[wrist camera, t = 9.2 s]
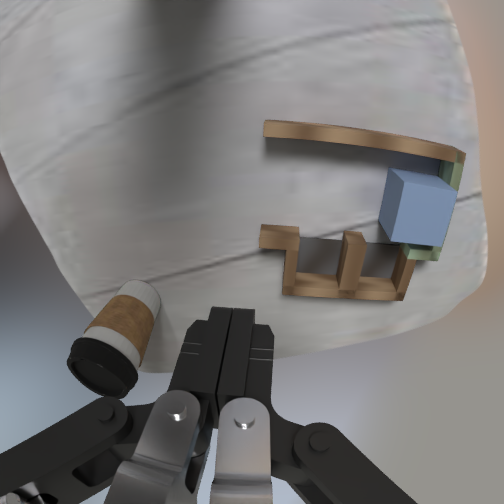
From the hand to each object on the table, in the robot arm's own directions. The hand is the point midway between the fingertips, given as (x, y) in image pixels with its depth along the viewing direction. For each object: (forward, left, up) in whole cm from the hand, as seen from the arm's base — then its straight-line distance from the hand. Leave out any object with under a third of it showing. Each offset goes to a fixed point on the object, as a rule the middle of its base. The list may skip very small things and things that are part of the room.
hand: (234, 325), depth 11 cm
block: (+2, +15, -23) cm, 28 cm away
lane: (+5, +10, -23) cm, 25 cm away
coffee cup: (+19, -16, -23) cm, 34 cm away
